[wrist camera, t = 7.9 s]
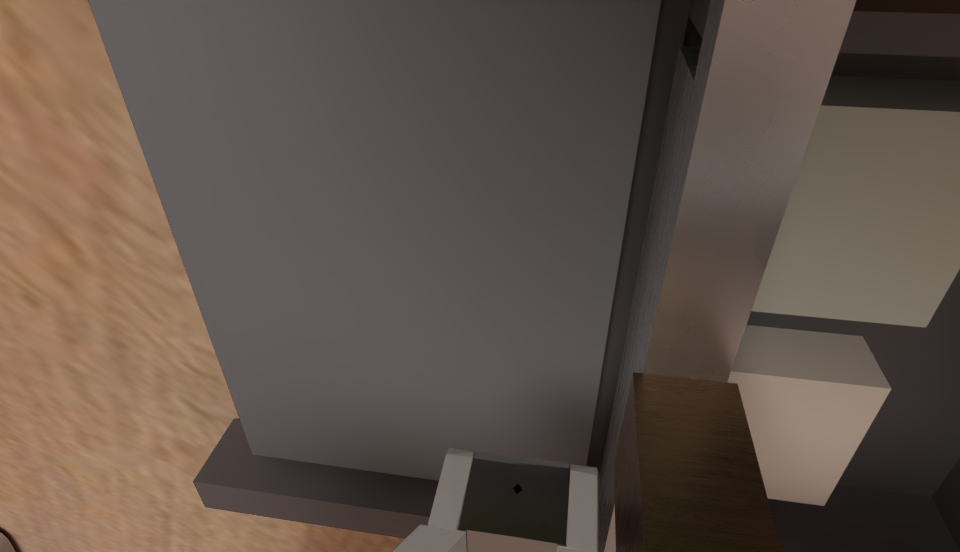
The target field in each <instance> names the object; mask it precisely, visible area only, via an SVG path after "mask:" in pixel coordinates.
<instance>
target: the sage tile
mask: <svg viewBox="0 0 960 552" xmlns="http://www.w3.org/2000/svg"><path fill="white" fill-rule="evenodd" d="M959 269H960V81H950V80H926V79H902V78H878V77H854V76H831V77H830V80H829V83H828V86H827V89H826V92H825V95H824V98H823V101H822V104H821V107H820V109H819V112H818V115H817V118H816V121H815V124H814V127H813V130H812V133H811V136H810V139H809V142H808V145H807V148H806V151H805V154H804V157H803V160H802V163H801V165H800V168H799V171H798V174H797V177H796V180H795V183H794V186H793V189H792V192H791V195H790V198H789V201H788V204H787V207H786V210H785V213H784V216H783V219H782V221H781V224H780V227H779V230H778V233H777V236H776V239H775V242H774V245H773V248H772V251H771V254H770V257H769V260H768V263H767V266H766V269H765V272H764V275H763V278H762V280H761V283H760V286H759V289H758V292H757V295H756V298H755V301H754V304H753V307H752V310H751V311H755V312H766V313H776V314H787V315H798V316H808V317H819V318H829V319H840V320H851V321H861V322H872V323H882V324H893V325H904V326H914V327H925V328H926V327H927V325H928V323H929V322H930V320H931V318H932V316H933V315H934V313H935V311H936V309H937V308H938V306H939V304H940V303H941V301H942V299H943V297H944V296H945V294H946V292H947V290H948V289H949V287H950V285H951V283H952V282H953V280H954V278H955V276H956V275H957V273H958V271H959Z"/></svg>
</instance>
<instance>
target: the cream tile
mask: <svg viewBox="0 0 960 552" xmlns="http://www.w3.org/2000/svg"><path fill="white" fill-rule="evenodd" d="M727 383H736V384H738V387H739V391H740V395H741V399H742V402H743V406H744V410H745V414H746V418H747V422H748V425H749V429H750V433H751V437H752V441H753V444H754V448H755V452H756V456H757V460H758V463H759V467H760V471H761V475H762V479H763V482H764V486H765V490H766V494H767V498H768V499H776V500H783V501H791V502H798V503H805V504H813V505H820V506H824V505H825V504H826V502H827V500H828V498H829V497H830V495H831V493H832V491H833V490H834V488H835V486H836V484H837V483H838V481H839V479H840V478H841V476H842V474H843V472H844V471H845V469H846V467H847V465H848V464H849V462H850V460H851V458H852V457H853V455H854V453H855V451H856V450H857V448H858V446H859V444H860V443H861V441H862V439H863V438H864V436H865V434H866V432H867V431H868V429H869V427H870V425H871V424H872V422H873V420H874V418H875V417H876V415H877V413H878V411H879V410H880V408H881V406H882V405H883V403H884V401H885V399H886V398H887V396H888V394H889V392H890V391H891V387H890V385H889V383H888V382H887V380H886V378H885V376H884V374H883V372H882V371H881V369H880V367H879V365H878V363H877V361H876V360H875V358H874V356H873V354H872V352H871V351H870V349H869V347H868V345H867V343H866V341H865V340H864V338H863V336H855V335H845V334H835V333H824V332H814V331H804V330H794V329H783V328H773V327H763V326H753V325H746V328H745V331H744V334H743V336H742V339H741V342H740V345H739V348H738V351H737V354H736V357H735V360H734V363H733V366H732V369H731V372H730V375H729V378H728V381H727Z"/></svg>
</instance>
